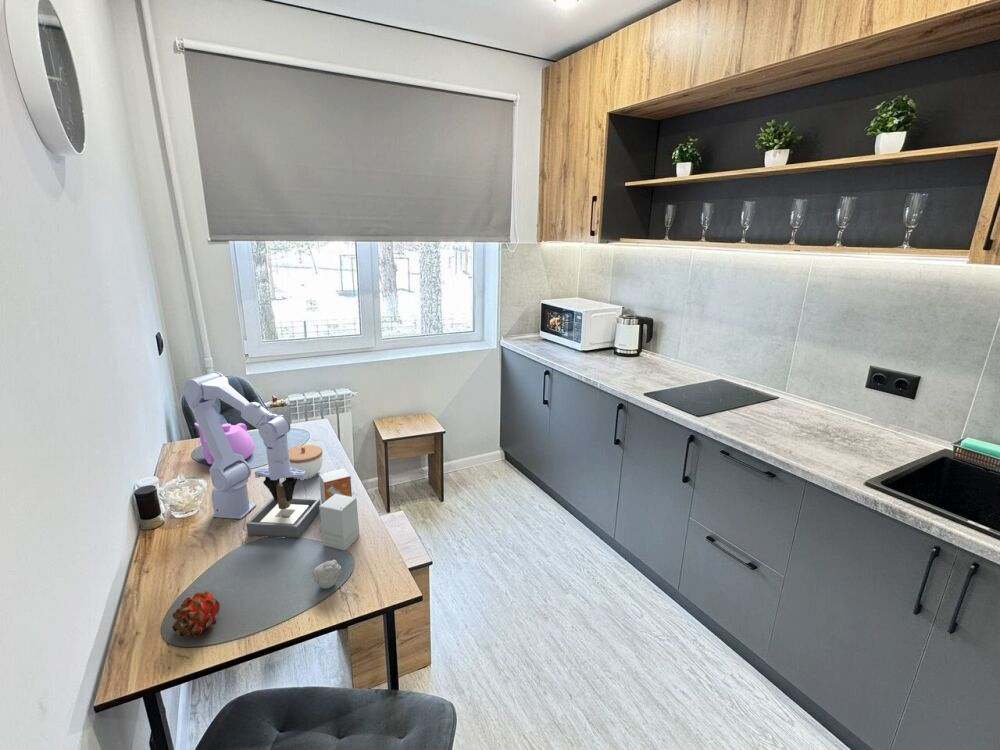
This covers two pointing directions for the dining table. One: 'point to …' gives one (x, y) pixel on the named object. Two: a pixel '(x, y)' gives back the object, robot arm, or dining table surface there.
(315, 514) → the square hole block
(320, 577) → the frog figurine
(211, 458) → the teapot
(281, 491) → the peg
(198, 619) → the dragon fruit
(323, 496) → the small box
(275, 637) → the dining table surface
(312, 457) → the lidded bowl
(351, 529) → the supplement box
